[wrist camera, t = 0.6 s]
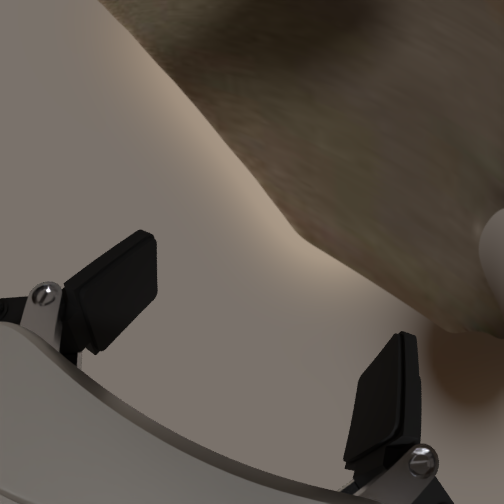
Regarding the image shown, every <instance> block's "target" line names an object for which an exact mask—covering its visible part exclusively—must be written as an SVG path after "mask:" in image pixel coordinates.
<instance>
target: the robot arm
mask: <svg viewBox="0 0 504 504" xmlns="http://www.w3.org/2000/svg"><path fill="white" fill-rule="evenodd" d="M64 286H65V287H64V288H63V289H61V287H60V286H59V285H58V284H57V283H55V282H43V283H40V284H38V285H37V286H35V287H34V288H33V289H32V290H31V291H30V293H29V296H28V297H15V298H1V299H0V504H454V503H453V501H452V500H451V498H450V497H449V495H448V494H447V493H446V491H445V490H444V488H443V487H442V485H441V484H440V482H439V481H438V479H437V478H436V477H435V475H436V473H437V471H438V467H439V460H438V455H437V453H436V452H435V450H434V449H433V448H432V447H431V446H429V445H427V444H420V437H421V379H420V376H419V364H418V352H417V351H418V350H417V339H416V336H415V335H412V334H409V333H406V332H403V331H401V332H400V333H399V334H394V335H393V336H392V338H391V339H390V340H389V342H388V343H387V344H386V345H385V347H384V348H383V349H382V351H381V352H380V353H379V354H378V356H377V357H376V358H375V359H374V361H373V362H372V363H371V364H370V366H369V367H368V368H367V369H366V370H365V371H364V373H363V374H362V375H361V377H360V379H359V381H358V386H357V393H356V399H355V404H354V410H353V415H352V421H351V426H350V431H349V435H348V440H347V444H346V448H345V453H344V458H343V459H344V461H345V462H346V465H345V469H348V470H353V471H354V476H353V480H351V481H350V482H349V483H347V484H346V485H345V486H343V487H342V488H340V489H339V490H338V491H333V490H328V489H324V488H320V487H316V486H311V485H308V484H304V483H301V482H297V481H294V480H290V479H287V478H283V477H280V476H276V475H273V474H271V473H268V472H265V471H262V470H259V469H256V468H253V467H251V466H248V465H245V464H242V463H240V462H238V461H235V460H232V459H230V458H228V457H225V456H223V455H220V454H218V453H216V452H214V451H212V450H210V449H207V448H205V447H203V446H201V445H199V444H197V443H195V442H193V441H191V440H188V439H187V438H185V437H183V436H181V435H179V434H177V433H175V432H173V431H172V430H170V429H168V428H166V427H164V426H162V425H161V424H159V423H157V422H156V421H154V420H152V419H150V418H149V417H147V416H145V415H144V414H142V413H141V412H139V411H137V410H136V409H134V408H133V407H131V406H130V405H128V404H127V403H125V402H124V401H122V400H121V399H119V398H118V397H116V396H115V395H113V394H112V393H110V392H109V391H107V390H106V389H105V388H103V387H102V386H101V385H99V384H98V383H97V382H95V381H94V380H93V379H91V378H90V377H89V376H88V375H86V374H85V373H84V372H83V371H81V364H82V351H83V349H84V348H85V347H86V348H87V349H88V350H89V351H90V352H92V353H93V354H94V355H97V353H98V352H99V351H104V350H105V349H106V348H107V347H108V346H109V345H110V344H111V343H112V342H113V341H114V340H115V338H117V337H118V336H119V335H120V333H121V332H122V331H123V330H124V329H125V328H126V327H127V326H128V325H129V324H130V323H131V322H132V321H133V320H134V319H135V318H136V317H137V316H138V315H139V314H140V313H141V312H142V311H143V310H144V309H145V308H146V307H147V306H148V305H149V304H150V303H151V301H153V300H154V299H155V297H156V295H157V291H158V290H157V242H156V240H155V239H154V236H153V235H152V234H150V233H148V232H146V231H143V230H138V231H136V232H135V233H133V234H132V235H130V236H129V237H128V238H126V239H125V240H123V241H121V242H120V243H118V244H117V245H116V246H114V247H113V248H111V249H110V250H109V251H107V252H106V253H104V254H103V255H101V256H100V257H99V258H97V259H96V260H94V261H93V262H92V263H90V264H89V265H87V266H86V267H85V268H83V269H82V270H81V271H80V272H78V273H77V274H75V275H74V276H73V277H72V278H70V279H69V280H67V281H66V282H65V283H64Z"/></svg>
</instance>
